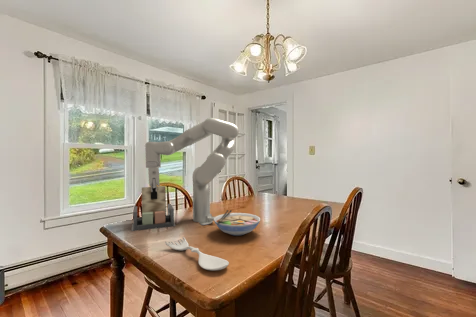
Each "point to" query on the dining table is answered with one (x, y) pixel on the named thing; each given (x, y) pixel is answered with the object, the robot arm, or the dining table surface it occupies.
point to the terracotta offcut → (159, 217)
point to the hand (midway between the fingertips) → (153, 198)
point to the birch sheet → (153, 204)
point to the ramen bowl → (236, 223)
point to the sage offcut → (147, 218)
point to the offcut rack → (138, 221)
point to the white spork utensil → (201, 256)
